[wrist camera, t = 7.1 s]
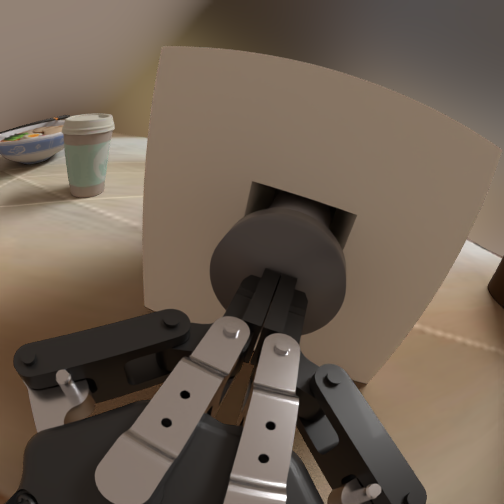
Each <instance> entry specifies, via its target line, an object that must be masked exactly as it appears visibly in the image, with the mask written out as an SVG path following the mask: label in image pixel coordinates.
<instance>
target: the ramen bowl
mask: <svg viewBox="0 0 504 504" xmlns="http://www.w3.org/2000/svg"><path fill="white" fill-rule="evenodd" d="M68 117H70V115H68V116H67V115H64V116H59V117H55V118H50V119H46V120H42V121H38V122H34V123H30V124H26V125H24V126H19V127H16V128H13V129H9V130H6V131H3V132H0V154H1V155H2V156H3V157H4V158H6V159H8V160H11V161H16V162H21V163H23V164H35V163H39V162H42V161H45V160H47V159H48V158H50V157H51V156H52V155H54V154H56V153H57V152H59V151H61V150H63V149H64V137H63V133H62V127H63V126H64V122H65V120H60V119H65V118H68ZM55 120H57V121H55Z"/></svg>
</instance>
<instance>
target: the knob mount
mask: <svg viewBox="0 0 504 504" xmlns="http://www.w3.org/2000/svg"><path fill="white" fill-rule="evenodd" d="M501 153H502V149H500V148H499V147H497V146H496V145H494V144H493V143H491V142H490V141H488V140H487V139H485V138H484V137H482V136H481V135H479V134H477V133H476V132H474V131H473V130H471V129H469V128H468V127H466V126H464V125H463V124H461V123H459V122H457V121H456V120H454V119H452V118H450V117H448V116H446V115H444V114H443V113H440V112H439V111H437V110H435V109H433V108H431V107H429V106H427V105H425V104H422V103H420V102H418V101H416V100H414V99H411V98H409V97H407V96H404V95H402V94H400V93H398V92H395V91H393V90H390V89H388V88H385V87H383V86H380V85H377V84H375V83H372V82H369V81H366V80H364V79H361V78H358V77H355V76H352V75H348V74H345V73H342V72H339V71H335V70H332V69H328V68H324V67H321V66H317V65H313V64H309V63H305V62H300V61H296V60H291V59H287V58H281V57H277V56H271V55H265V54H259V53H252V52H245V51H237V50H228V49H218V48H204V47H181V46H180V47H179V46H162V49H161V54H160V59H159V64H158V70H157V75H156V81H155V87H154V94H153V100H152V107H151V115H150V123H149V132H148V141H147V151H146V163H145V178H144V196H143V239H142V245H143V287H144V306H145V307H147V308H149V309H151V310H153V311H156V312H157V311H161V310H165V309H177V310H180V311H182V312H184V313H185V314H186V315H187V316H188V317H189V319H190V322H191V323H199V324H211V323H214V322H215V321H216V320H217V319H219V318H221V317H223V315H224V314H225V312H226V310H225V309H224V308H223V306H222V305H221V304H220V302H219V301H218V299H217V297H216V295H215V293H214V291H213V288H212V285H211V281H210V272H209V271H210V262H211V257H212V255H213V252H214V250H215V248H216V247H217V245H218V243H219V242H220V241H221V240H222V239H223V237H224V236H225V235H226V234H227V233H228V231H229V230H230V229H231V228H232V227H233V226H234V224H235V223H237V222H238V221H239V220H240V219H242V218H243V217H245V216H246V215H248V214H251V213H253V212H256V211H259V210H263V209H268V208H269V207H270V205H271V204H272V202H273V201H274V199H275V198H276V196H277V195H278V194H279V193H280V192H282V191H283V190H284V191H287V192H290V193H293V194H296V195H300V196H303V197H306V198H309V199H312V200H315V201H318V202H321V203H324V204H327V205H328V206H329V209H330V231H331V232H332V234H333V235H334V236H335V237H336V239H337V241H338V242H339V244H340V246H341V248H342V250H343V253H344V257H345V262H346V294H345V298H344V302H343V304H342V306H341V308H340V310H339V312H338V313H337V315H336V316H335V317H334V318H333V319H332V320H331V321H330V322H329V323H328V324H327V325H325V326H324V327H322V328H320V329H318V330H316V331H314V332H312V333H309V334H306V335H301V338H300V349H301V351H302V353H303V355H304V356H305V357H306V358H307V359H308V360H310V361H311V362H313V363H314V364H316V365H317V366H319V367H320V366H322V365H324V364H334V365H337V366H339V367H341V368H342V369H344V370H345V371H346V372H347V374H348V375H349V377H350V378H351V379H352V380H354V381H358V382H362V383H366V384H368V382H369V381H370V380H371V379H372V378H373V377H374V376H375V375H376V373H377V372H378V371H379V370H380V369H381V368H382V366H383V365H384V364H385V363H386V362H387V360H388V359H389V358H390V357H391V355H392V354H393V353H394V352H395V350H396V349H397V348H398V347H399V345H400V344H401V343H402V341H403V340H404V339H405V337H406V336H407V335H408V333H409V332H410V331H411V329H412V328H413V326H414V325H415V324H416V322H417V321H418V319H419V318H420V317H421V315H422V314H423V312H424V311H425V309H426V308H427V306H428V305H429V303H430V302H431V300H432V299H433V297H434V295H435V294H436V292H437V291H438V289H439V288H440V286H441V284H442V283H443V281H444V279H445V278H446V276H447V274H448V272H449V271H450V269H451V267H452V265H453V264H454V262H455V260H456V258H457V256H458V255H459V253H460V251H461V249H462V247H463V245H464V243H465V241H466V239H467V237H468V235H469V233H470V231H471V229H472V227H473V225H474V223H475V220H476V218H477V216H478V214H479V212H480V209H481V207H482V205H483V202H484V200H485V197H486V195H487V192H488V190H489V187H490V185H491V182H492V179H493V176H494V174H495V171H496V168H497V165H498V162H499V159H500V156H501ZM260 334H261V333H260ZM260 334H259V337H260ZM259 337H258V340H259ZM258 340H257V342H256V345H255V347H254V351H255V349H256V346H257V343H258Z"/></svg>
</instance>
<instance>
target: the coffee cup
mask: <svg viewBox="0 0 504 504" xmlns="http://www.w3.org/2000/svg"><path fill="white" fill-rule="evenodd" d="M114 128H115V127H114V122H113V118H112V115H109V114H83V115H76V116H71V117H68V118H66V119H65V122H64V126H63V127H62V133H63V137H64V148H65V157H66V165H67V172H68V179H69V185H70V191H71V194H72V195H73V196H76V197H92V196H96V195H98V194H100V193H102V192H103V191H104V185H105V177H106V169H107V161H108V155H109V148H110V142H111V136H112V130H113V129H114Z"/></svg>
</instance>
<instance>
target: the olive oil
mask: <svg viewBox="0 0 504 504" xmlns="http://www.w3.org/2000/svg"><path fill="white" fill-rule="evenodd" d="M488 289H489V291H490V293H491V295H492V296H493V297H494V299H495V300H496V301H497V302H498V303H499V304H500V305H501V306H502V307H504V256H503V258H502V260H501V262H500V264H499V266H498V268H497V270H496V272H495V273H494V275H493V277H492V279H491V280H490V282H489V284H488Z"/></svg>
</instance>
